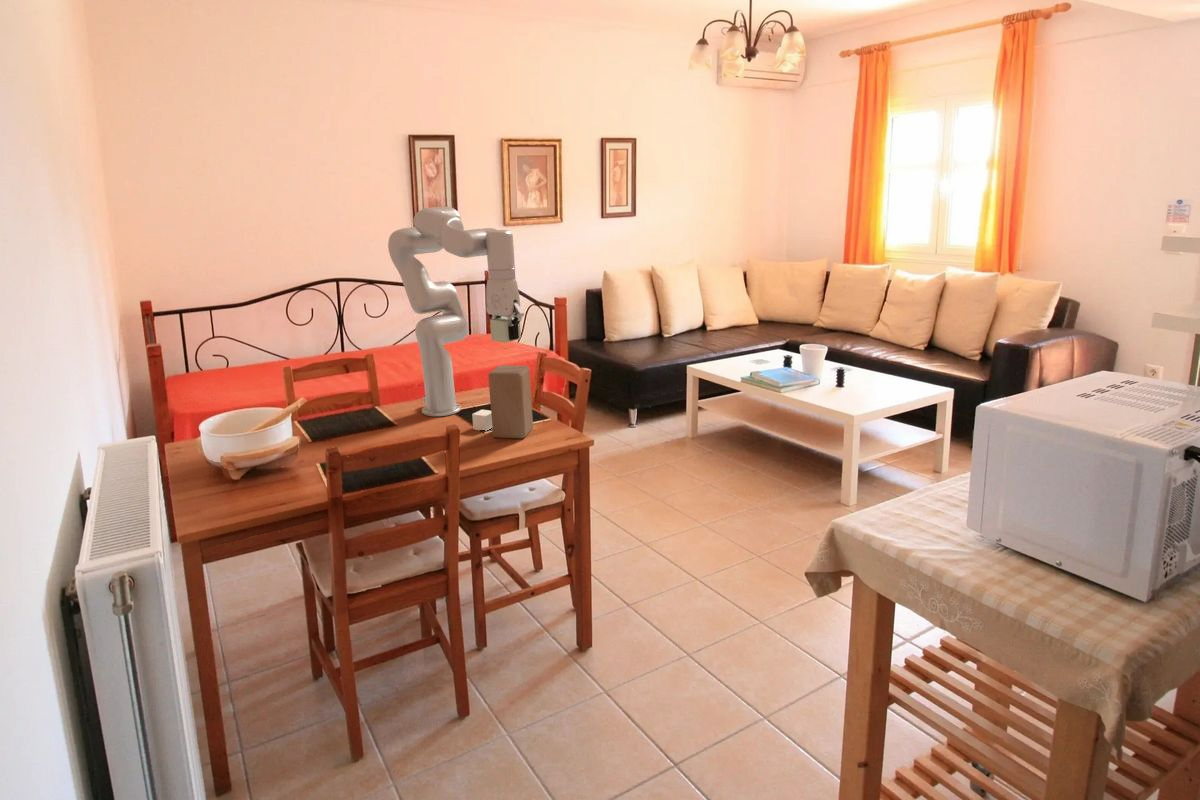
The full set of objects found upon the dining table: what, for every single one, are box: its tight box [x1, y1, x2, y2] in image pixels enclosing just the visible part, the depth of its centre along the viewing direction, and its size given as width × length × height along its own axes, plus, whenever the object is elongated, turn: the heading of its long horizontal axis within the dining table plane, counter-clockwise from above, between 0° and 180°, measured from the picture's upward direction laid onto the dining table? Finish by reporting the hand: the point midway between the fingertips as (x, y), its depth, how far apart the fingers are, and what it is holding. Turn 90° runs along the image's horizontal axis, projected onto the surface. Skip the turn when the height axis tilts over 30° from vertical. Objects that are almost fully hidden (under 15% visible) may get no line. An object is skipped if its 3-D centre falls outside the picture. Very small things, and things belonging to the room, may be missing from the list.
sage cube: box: [489, 317, 522, 344], centre depth 217 cm, size 6×6×6 cm
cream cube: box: [471, 409, 492, 432], centre depth 231 cm, size 5×5×5 cm
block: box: [487, 364, 534, 439], centre depth 223 cm, size 10×10×20 cm
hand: (506, 337), depth 217 cm, fingers closed on sage cube, 6 cm apart
